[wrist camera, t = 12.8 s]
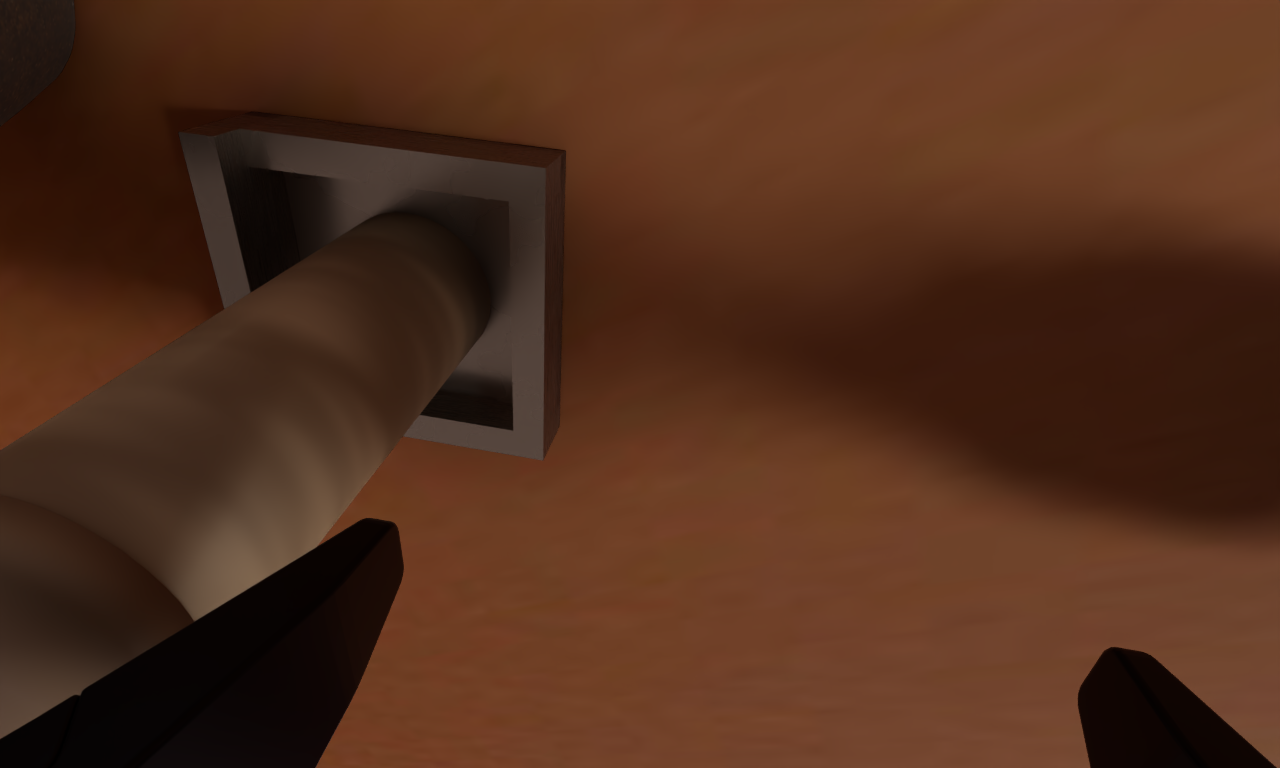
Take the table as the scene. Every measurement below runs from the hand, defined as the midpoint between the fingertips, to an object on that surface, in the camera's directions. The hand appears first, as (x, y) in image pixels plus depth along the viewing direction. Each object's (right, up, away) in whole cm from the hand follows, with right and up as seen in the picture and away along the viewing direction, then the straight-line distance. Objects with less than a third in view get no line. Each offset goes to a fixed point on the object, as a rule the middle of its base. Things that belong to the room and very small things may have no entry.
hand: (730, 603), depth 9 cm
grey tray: (-8, +6, +14) cm, 17 cm away
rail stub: (-8, +6, +13) cm, 17 cm away
